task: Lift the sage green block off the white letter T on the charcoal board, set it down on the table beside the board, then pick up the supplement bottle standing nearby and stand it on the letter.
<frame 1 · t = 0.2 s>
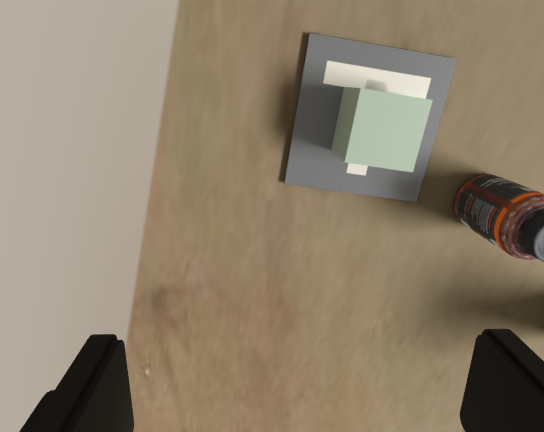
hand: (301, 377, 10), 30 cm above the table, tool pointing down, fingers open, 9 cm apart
sage block: (367, 124, 38), point 1 cm above the table, touching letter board
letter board: (365, 123, 38), on the table
supplement bottle: (478, 199, 42), on the table
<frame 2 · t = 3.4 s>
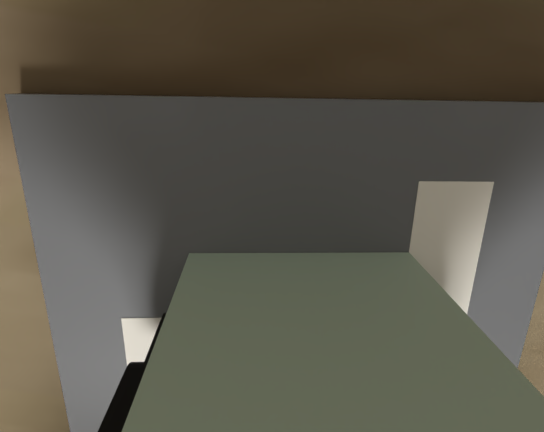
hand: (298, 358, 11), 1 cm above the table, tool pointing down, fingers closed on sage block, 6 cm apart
sage block: (296, 345, 11), point 1 cm above the table, touching gripper, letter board
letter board: (294, 332, 12), on the table
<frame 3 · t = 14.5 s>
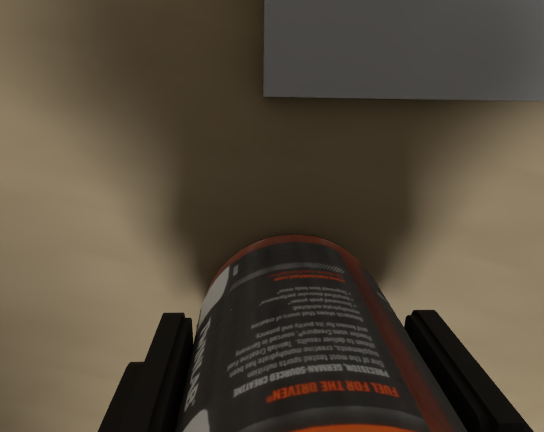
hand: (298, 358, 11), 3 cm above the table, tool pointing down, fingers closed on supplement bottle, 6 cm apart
supplement bottle: (289, 305, 14), on the table, touching gripper
when the fingers open (4 cm above the table, at t = 21.4 s): supplement bottle stays where it is, resting on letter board.
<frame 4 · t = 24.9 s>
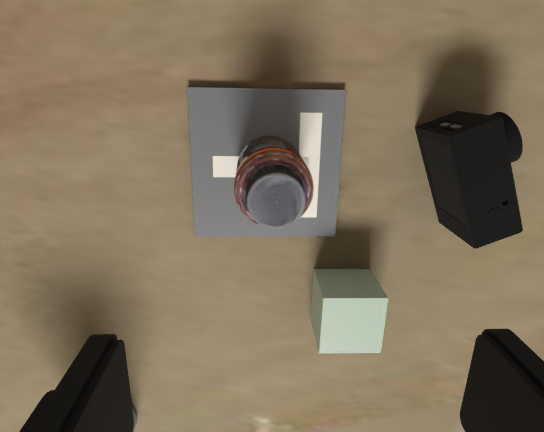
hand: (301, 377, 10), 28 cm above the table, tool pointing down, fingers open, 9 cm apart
digital camera: (452, 166, 38), on the table
sage block: (339, 293, 42), on the table
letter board: (266, 165, 37), on the table
supplement bottle: (269, 166, 37), resting on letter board
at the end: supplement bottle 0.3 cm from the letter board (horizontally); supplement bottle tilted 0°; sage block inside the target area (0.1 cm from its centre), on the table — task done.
